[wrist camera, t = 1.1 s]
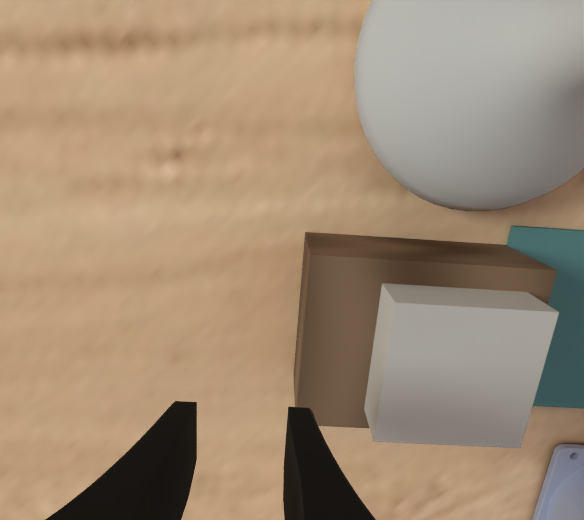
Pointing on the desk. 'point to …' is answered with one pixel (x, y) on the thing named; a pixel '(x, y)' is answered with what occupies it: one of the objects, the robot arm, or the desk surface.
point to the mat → (560, 311)
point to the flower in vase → (474, 97)
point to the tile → (456, 365)
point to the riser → (365, 302)
